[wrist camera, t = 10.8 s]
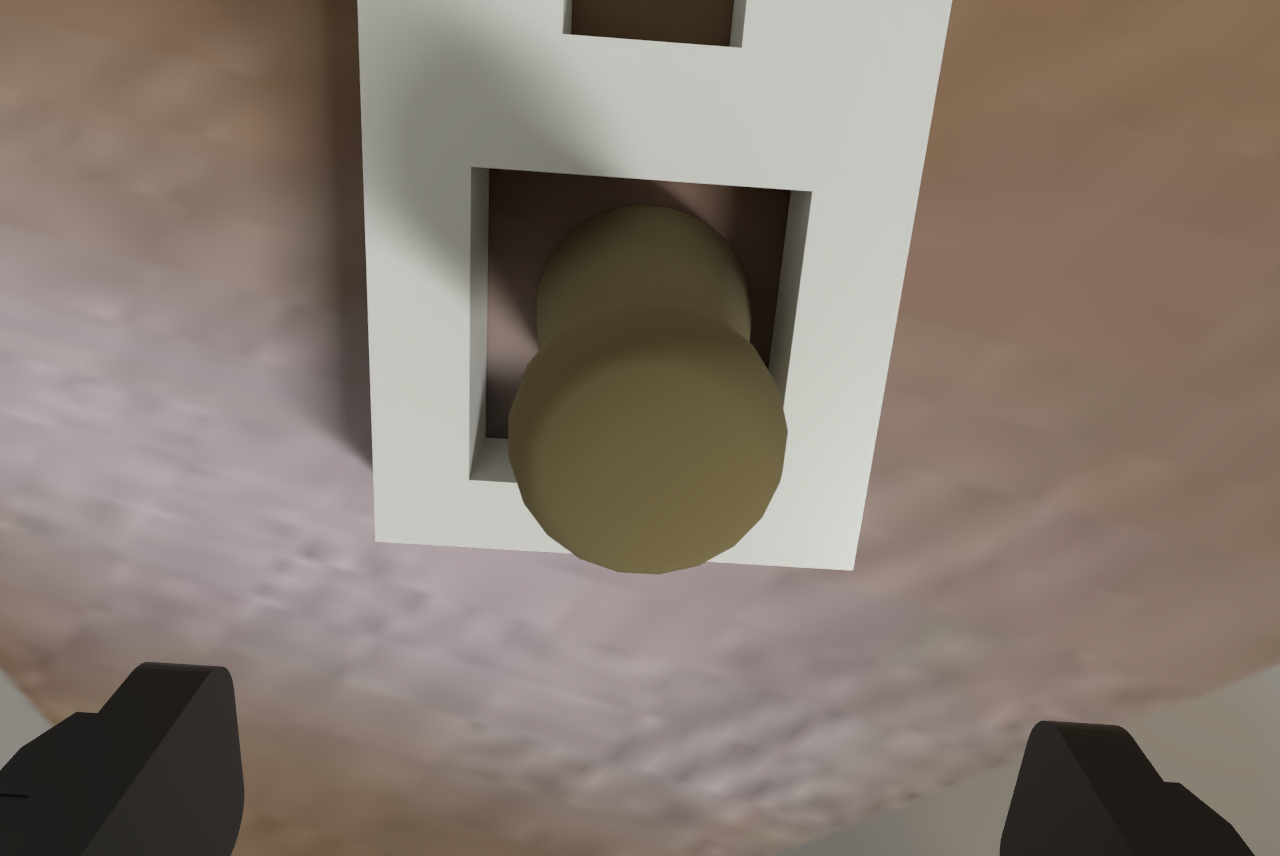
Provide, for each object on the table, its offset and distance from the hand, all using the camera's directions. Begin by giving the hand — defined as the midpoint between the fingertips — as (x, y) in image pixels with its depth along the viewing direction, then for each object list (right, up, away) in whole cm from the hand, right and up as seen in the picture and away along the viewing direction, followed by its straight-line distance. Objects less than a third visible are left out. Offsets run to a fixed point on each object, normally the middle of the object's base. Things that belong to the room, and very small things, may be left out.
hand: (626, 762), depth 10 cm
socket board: (0, +10, +15) cm, 19 cm away
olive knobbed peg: (0, +7, +17) cm, 18 cm away
